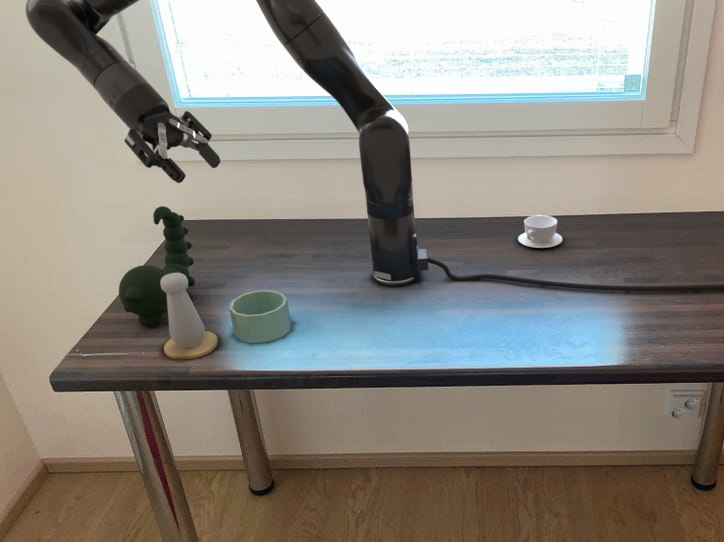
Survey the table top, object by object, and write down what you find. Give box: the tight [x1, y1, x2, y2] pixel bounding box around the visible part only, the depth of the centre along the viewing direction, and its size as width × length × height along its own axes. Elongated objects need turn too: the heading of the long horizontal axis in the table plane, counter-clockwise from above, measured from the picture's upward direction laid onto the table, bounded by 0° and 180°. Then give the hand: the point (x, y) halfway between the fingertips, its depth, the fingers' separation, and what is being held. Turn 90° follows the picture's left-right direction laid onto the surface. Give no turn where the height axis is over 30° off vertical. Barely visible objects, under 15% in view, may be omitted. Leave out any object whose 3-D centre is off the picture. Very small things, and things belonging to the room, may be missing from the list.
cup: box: [228, 289, 292, 344], centre depth 134 cm, size 10×10×6 cm
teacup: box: [517, 214, 563, 249], centre depth 166 cm, size 10×10×5 cm
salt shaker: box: [160, 273, 206, 349], centre depth 127 cm, size 6×6×13 cm
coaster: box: [163, 330, 219, 361], centre depth 131 cm, size 9×9×1 cm
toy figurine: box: [118, 205, 196, 328], centre depth 138 cm, size 9×19×25 cm
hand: (200, 172), depth 126 cm, fingers open, 8 cm apart
